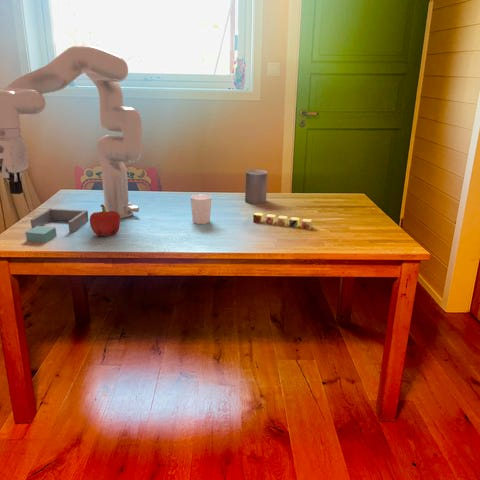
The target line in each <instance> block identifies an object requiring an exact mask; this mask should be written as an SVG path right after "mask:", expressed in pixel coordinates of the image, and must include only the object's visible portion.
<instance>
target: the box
mask: <svg viewBox="0 0 480 480" xmlns="http://www.w3.org/2000/svg"><path fill="white" fill-rule="evenodd" d="M88 212H89V211H88V210H84V209H83V210H82V209H81V210H80V209H63V208H60V209H59V208H48V209H46V210H45V211H43V212H41V213H39V214H38V215H35V217H33V218H31V219H30V225H31V226H30V227H31V229H32V228H34V227H36V226H45V225H47V224H48V223H49V222H51V221H52V220H55V221H56V220H58V221H68V231H69V233H74V232H75V231H77V230H78V229H80V228H81V227H82V226H83V225H85V224H86V223H87V222H88V221H89V213H88Z"/></svg>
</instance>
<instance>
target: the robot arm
mask: <svg viewBox="0 0 480 480" xmlns="http://www.w3.org/2000/svg"><path fill="white" fill-rule="evenodd" d="M128 73H129V66H128V64H127V62H126V61H125V59H124V58H122V57H121V56H120V55H117V54H115V53H112V52H109V51H107V50H105V49H102V48H99V47H97V46H92V45H88V46H87V45H75V46H70V47H68V48H67V49H65V50H64V51H63V52H61V53H60V54H59V55H58V56H56V57H55V58H53V59H52V60H51V61H49V63H47V64H46V65H44V66H42V67H40V68H37V69H35V70H33V71H30V72H28V73H26V74H24V75H21V76H19V77H18V78H16V79H14V80H13V81H12V82H10V83H9V84H8V85H7V86H6V87H4V88H3V89H0V173H1V177H2V179H4V178H5V179H6V180H7V182H8V185H9V186H8V187H9V191H10V192H9V193H10V194H11V195H21V194H23V192H24V191H23V190H24V189H23V182H22V180H23V173H24V172H25V170H27V169H28V168H29V166H30V161H29V156H28V150H27V148H26V147H27V146H26V143H25V139H24V137H23V134H22V125H21V117H20V115H30V116H35V115H38V114H40V113H42V112H43V111H44V110H45V107H46V104H47V103H46V99H45V97H44V95H45V94H51V93H55V92H58V91H62V90H64V89H66V88H67V87H68V86H69V85H71V84H72V83H73V82H74V81H75V80H76V79H77V78H78V77H80V76H81V75H82V74H85V75H86V76H87V77H88V78H89V80H90V81H91V82H93V84H94V85H95V88H96V89H97V91H98V98H99V118H100V119H99V120H100V126H101V128H102V129H103V130H105V131H107V132H112V133H120V134H122V135H113V134H106V135H104V136H102V137H100V138H99V139H98V141H97V145H96V150H97V154H98V159H99V162H100V167H101V177H102V191H103V201H104V202H103V203H104V204H103V205H104V206H105V210H106V212H109V211H114V212H117V213H118V214H119V215H120V219H125V218H130V217H131V216H133V214H134V213H139V211H140V208H139V207H138V205H132V202H131V201H129V188H128V187H129V186H128V185H129V184H128V169H127V167H126V164H125V163H128V164H130V163H131V164H132V163H133V164H134V163H136V162H137V161H139V160H140V158H141V155H142V149H143V142H142V141H143V132H142V131H143V129H142V127H143V125H142V118H141V116H140V113H139V112H138V110H136V109H135V108H133V107H131V106H129V107H128V106H125V105H124V96H123V91H122V87H121V85H120V84H119V82H123V81H125V79H127V77H128Z"/></svg>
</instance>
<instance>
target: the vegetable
mask: <svg viewBox="0 0 480 480" xmlns="http://www.w3.org/2000/svg"><path fill="white" fill-rule="evenodd" d="M100 207H101V209H102V211H97V212H93V213H91V214H90V215H89V224H90V228H91V230H92V232H93V233H94V234H95V236H98V237H100V236H105V237H106V236H110V235H116V234H117V233H118V231H119V229H120V224H121V218H120V215H119V214H118V213H117V212H114V211H109V212H106V210H105V204H101V205H100Z"/></svg>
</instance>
